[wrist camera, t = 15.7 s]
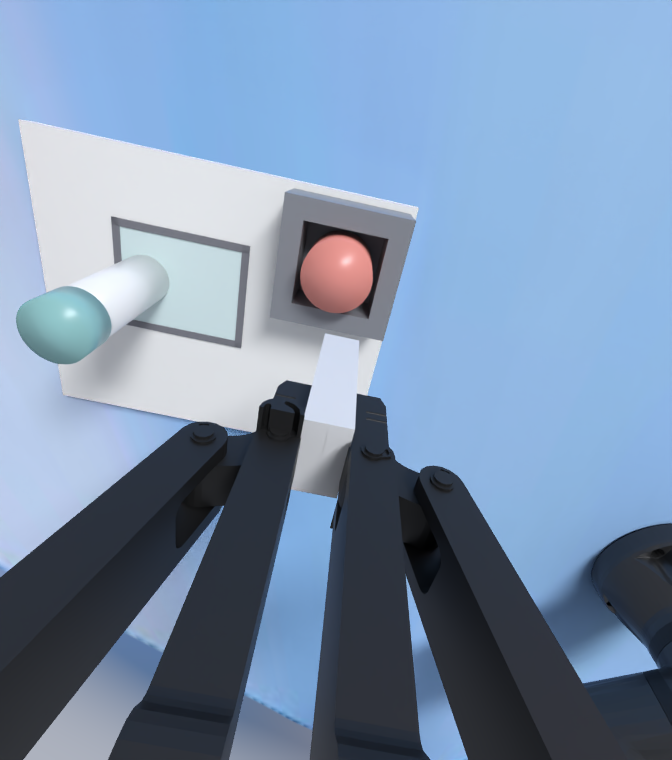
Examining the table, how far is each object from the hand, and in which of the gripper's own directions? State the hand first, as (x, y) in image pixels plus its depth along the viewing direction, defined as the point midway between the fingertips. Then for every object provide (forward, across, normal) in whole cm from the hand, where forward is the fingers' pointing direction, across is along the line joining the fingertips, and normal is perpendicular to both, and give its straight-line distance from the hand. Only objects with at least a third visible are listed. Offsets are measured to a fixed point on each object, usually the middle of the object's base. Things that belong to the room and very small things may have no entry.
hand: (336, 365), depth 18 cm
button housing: (+17, +1, -1) cm, 17 cm away
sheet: (+19, +11, +6) cm, 22 cm away
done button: (+16, +1, -1) cm, 16 cm away
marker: (+17, +17, +4) cm, 25 cm away
